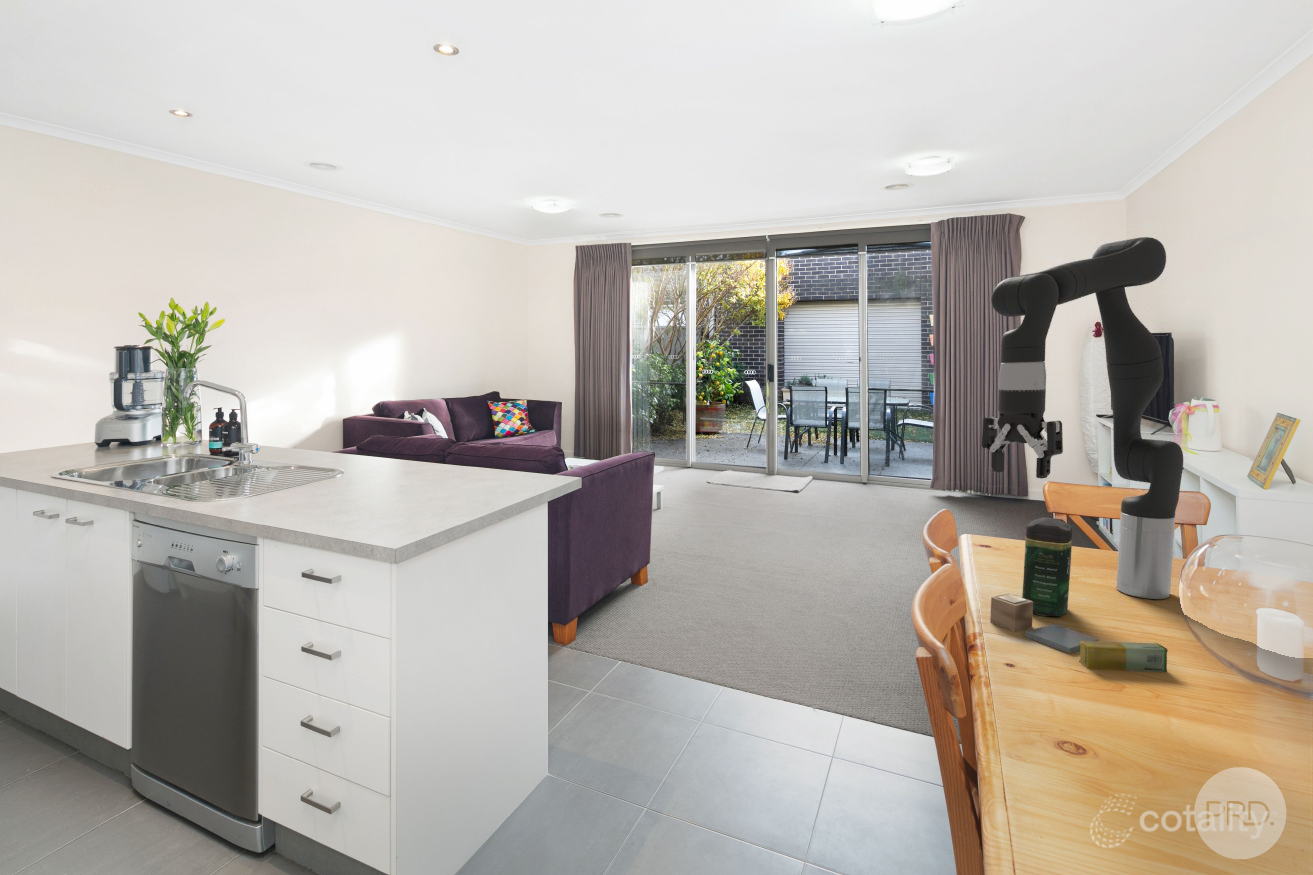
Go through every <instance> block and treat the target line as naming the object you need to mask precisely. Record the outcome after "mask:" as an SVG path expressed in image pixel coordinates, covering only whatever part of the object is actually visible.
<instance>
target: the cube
mask: <svg viewBox="0 0 1313 875" xmlns="http://www.w3.org/2000/svg"><path fill="white" fill-rule="evenodd" d="M1033 615H1034V612H1033V601H1030V600H1027V599H1024V598H1022V597H1021V596H1018V595H1015V594H1012V593H1005V594H1001V595H1000V594H999V595H995V596H991V599H990V617H989V620H990V623H991V624H994V625H996V626H999V627H1002V628H1003V629H1004V628H1005V629H1007V630H1010V631H1011V632H1012V631H1013V632H1017V631H1021V630H1025V629H1028V628H1032V627H1033V618H1034V617H1033Z"/></svg>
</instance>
